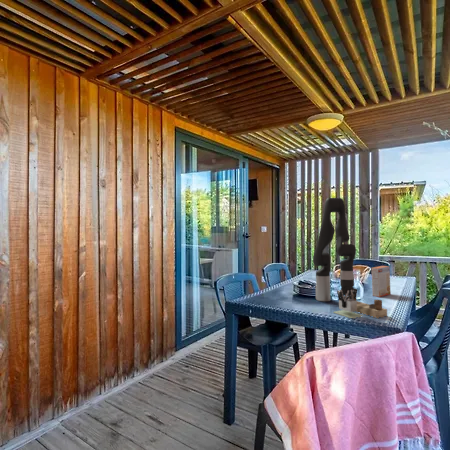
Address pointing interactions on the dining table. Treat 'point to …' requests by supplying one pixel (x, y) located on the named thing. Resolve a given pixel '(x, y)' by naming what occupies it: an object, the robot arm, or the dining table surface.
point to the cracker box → (381, 281)
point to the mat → (347, 314)
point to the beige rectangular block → (349, 305)
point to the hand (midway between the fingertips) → (347, 306)
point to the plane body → (372, 308)
